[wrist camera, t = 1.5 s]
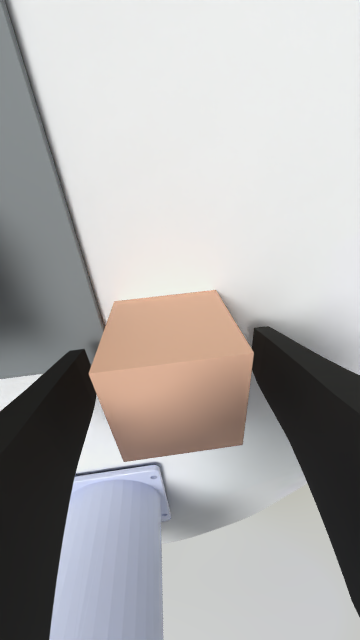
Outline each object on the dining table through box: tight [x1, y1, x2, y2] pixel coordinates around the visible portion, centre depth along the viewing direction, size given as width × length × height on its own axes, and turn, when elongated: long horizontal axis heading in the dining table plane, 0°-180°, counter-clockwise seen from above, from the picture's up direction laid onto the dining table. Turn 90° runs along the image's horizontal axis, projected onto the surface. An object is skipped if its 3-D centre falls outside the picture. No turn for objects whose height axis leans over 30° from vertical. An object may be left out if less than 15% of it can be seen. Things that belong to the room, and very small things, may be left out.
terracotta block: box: [89, 290, 254, 462], centre depth 9 cm, size 4×4×4 cm
